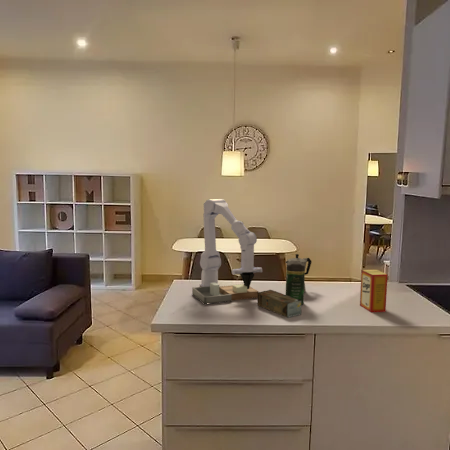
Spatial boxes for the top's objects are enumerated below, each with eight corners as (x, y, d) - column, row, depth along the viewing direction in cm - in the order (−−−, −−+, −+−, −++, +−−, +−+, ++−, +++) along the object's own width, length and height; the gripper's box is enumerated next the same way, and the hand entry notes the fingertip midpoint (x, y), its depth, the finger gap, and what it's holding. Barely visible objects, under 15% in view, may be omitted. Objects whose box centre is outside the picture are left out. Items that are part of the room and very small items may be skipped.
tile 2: (232, 290, 192) (232, 285, 191) (242, 289, 194) (242, 284, 193) (236, 293, 187) (237, 287, 187) (247, 292, 189) (247, 286, 189)
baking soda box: (385, 311, 173) (387, 273, 171) (370, 312, 172) (372, 274, 170) (373, 304, 182) (375, 268, 180) (359, 305, 181) (361, 269, 179)
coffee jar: (304, 306, 178) (306, 263, 176) (285, 306, 179) (286, 263, 177) (302, 300, 188) (303, 259, 186) (284, 299, 188) (285, 258, 186)
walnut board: (218, 292, 198) (218, 286, 198) (245, 290, 204) (245, 284, 203) (230, 300, 186) (230, 294, 185) (258, 297, 191) (258, 291, 191)
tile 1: (214, 292, 196) (209, 293, 195) (214, 282, 195) (209, 282, 194) (219, 295, 192) (214, 296, 190) (219, 284, 191) (214, 285, 190)
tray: (192, 294, 195) (192, 287, 195) (217, 292, 200) (217, 285, 200) (204, 304, 180) (204, 297, 179) (231, 301, 184) (231, 294, 184)
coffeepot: (290, 294, 197) (292, 256, 195) (279, 289, 205) (280, 253, 203) (316, 290, 204) (317, 254, 202) (304, 286, 212) (305, 251, 210)
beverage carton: (287, 318, 164) (287, 302, 163) (256, 306, 179) (256, 291, 179) (301, 314, 168) (302, 298, 167) (270, 303, 184) (270, 288, 183)
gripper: (236, 261, 184) (235, 292, 185) (265, 259, 189) (265, 289, 191) (230, 259, 190) (229, 288, 192) (258, 257, 196) (258, 285, 197)
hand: (246, 288), depth 192 cm, fingers closed
